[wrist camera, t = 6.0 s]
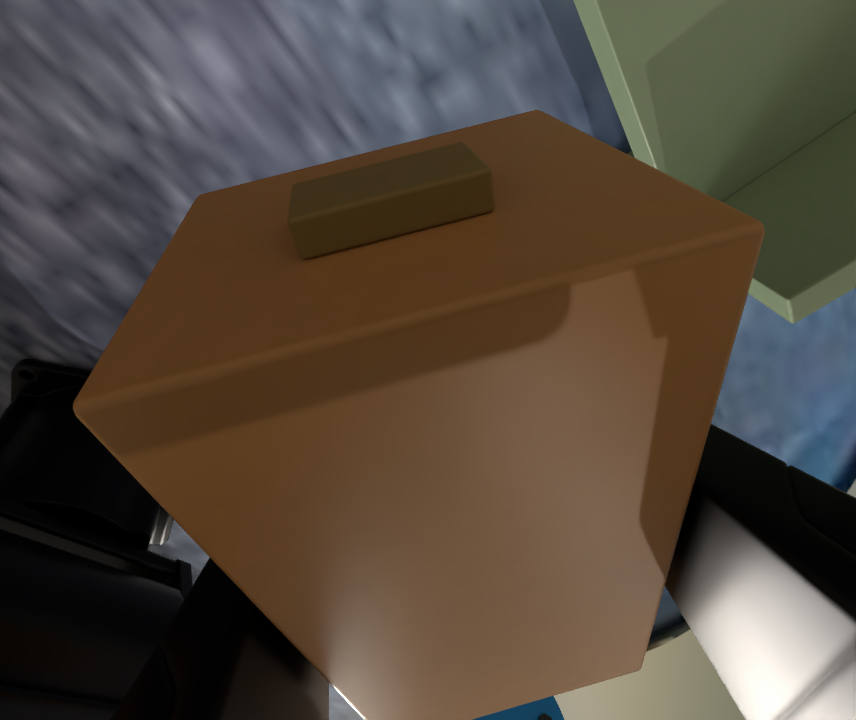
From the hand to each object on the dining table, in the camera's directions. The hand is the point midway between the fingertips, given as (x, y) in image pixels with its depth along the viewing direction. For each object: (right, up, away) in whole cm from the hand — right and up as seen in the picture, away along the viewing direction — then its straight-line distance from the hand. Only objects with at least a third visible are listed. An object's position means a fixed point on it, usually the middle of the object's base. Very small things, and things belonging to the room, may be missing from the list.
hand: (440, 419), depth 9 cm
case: (0, +1, +1) cm, 1 cm away
